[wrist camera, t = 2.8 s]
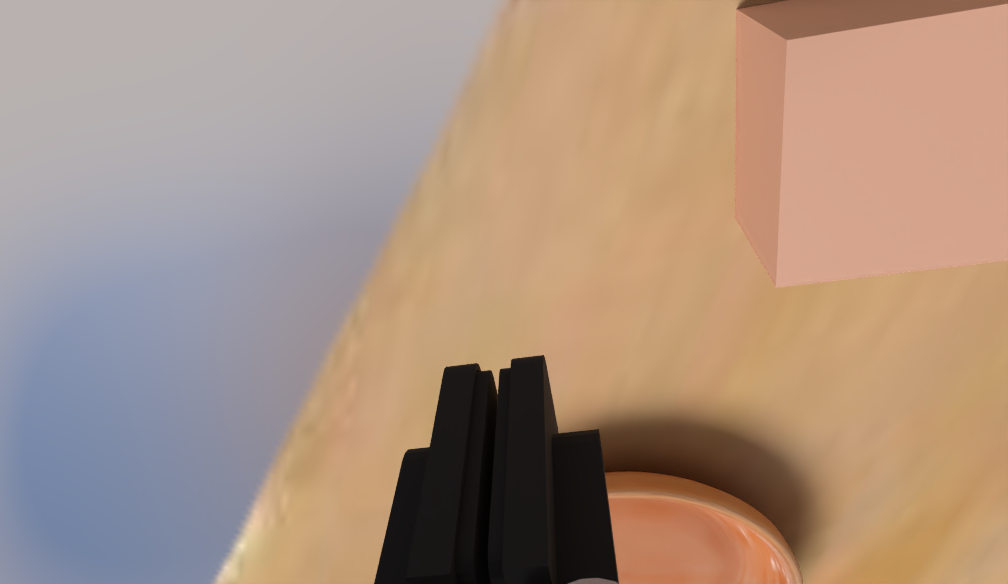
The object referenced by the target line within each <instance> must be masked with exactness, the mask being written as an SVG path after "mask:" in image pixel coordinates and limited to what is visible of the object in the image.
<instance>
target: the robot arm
mask: <svg viewBox="0 0 1008 584" xmlns="http://www.w3.org/2000/svg"><path fill="white" fill-rule="evenodd" d="M374 584H619V578H618V571H617V563H616V555H615V547H614V539H613V531H612V524H611V516H610V508H609V500H608V493H607V485H606V478H605V470H604V463H603V455H602V448H601V441H600V434H599V429H597V430H588V431H578V432H569V433H558V427H557V422H556V416H555V411H554V405H553V399H552V394H551V388H550V383H549V377H548V372H547V366H546V361H545V357H544V355H541V356H533V357H525V358H516V359H512V360H511V368H506V369H500V373H499V388H498V394H497V390H496V386H495V381H494V377H493V374H492V371H491V370H489V371H481V369H480V366H479V364H477V363H475V364H467V365H459V366H450V367H446V368H445V369H444V373H443V378H442V384H441V389H440V394H439V400H438V405H437V411H436V416H435V421H434V427H433V432H432V438H431V443H430V447H428V448H418V449H409V450H407V451H406V453H405V455H404V458H403V461H402V465H401V469H400V473H399V478H398V482H397V487H396V491H395V495H394V500H393V504H392V508H391V513H390V517H389V521H388V526H387V530H386V535H385V539H384V543H383V548H382V552H381V556H380V561H379V565H378V569H377V574H376V578H375V583H374Z"/></svg>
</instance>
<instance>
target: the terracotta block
mask: <svg viewBox="0 0 1008 584" xmlns="http://www.w3.org/2000/svg"><path fill="white" fill-rule="evenodd" d="M735 218H736V220H737V222H738V224H739V225H740V227H741V229H742V230H743V232H744V234H745V236H746V237H747V239H748V241H749V242H750V244H751V246H752V248H753V249H754V251H755V253H756V254H757V256H758V258H759V259H760V261H761V263H762V265H763V266H764V268H765V270H766V271H767V273H768V275H769V277H770V278H771V280H772V282H773V283H774V285H775V287H776V288H777V287H786V286H794V285H803V284H811V283H820V282H829V281H837V280H846V279H854V278H863V277H871V276H880V275H888V274H897V273H905V272H914V271H922V270H931V269H939V268H948V267H956V266H965V265H974V264H982V263H991V262H999V261H1008V0H787V1H781V2H775V3H769V4H763V5H758V6H752V7H746V8H740V9H736V159H735Z"/></svg>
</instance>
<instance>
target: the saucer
mask: <svg viewBox="0 0 1008 584" xmlns="http://www.w3.org/2000/svg"><path fill="white" fill-rule="evenodd" d="M605 478H606V485H607V493H608V500H609V508H610V516H611V524H612V531H613V539H614V547H615V555H616V563H617V571H618V578H619V584H803V579H802V575H801V571H800V568H799V565H798V563H797V561H796V558H795V557H794V555H793V553H792V551H791V549H790V548H789V546H788V544H787V542H786V541H785V539H784V537H783V536H782V535H781V533H780V532H779V531H778V529H777V528H776V527H775V526H774V525H773V524H772V523H771V522H770V521H769V520H768V519H767V518H766V517H765V516H764V515H763V514H761V513H760V512H759V511H757V510H756V509H754V508H753V507H752V506H750V505H749V504H747V503H745V502H744V501H742V500H740V499H738V498H736V497H734V496H732V495H730V494H728V493H726V492H723V491H721V490H718V489H716V488H713V487H710V486H708V485H705V484H702V483H699V482H696V481H693V480H689V479H685V478H681V477H676V476H671V475H665V474H657V473H649V472H638V471H621V472H606V473H605Z"/></svg>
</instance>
